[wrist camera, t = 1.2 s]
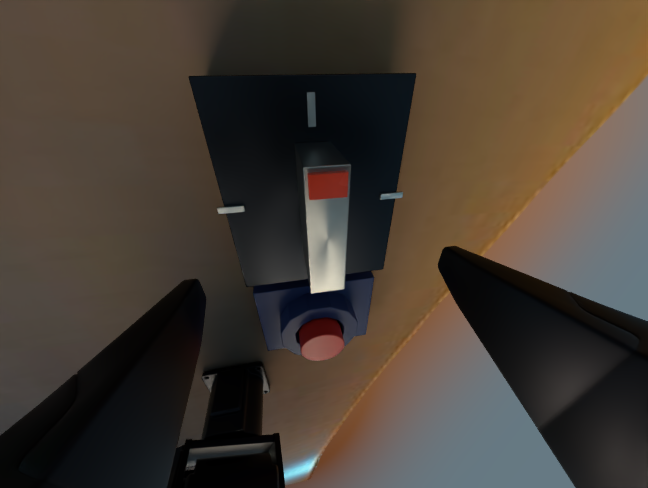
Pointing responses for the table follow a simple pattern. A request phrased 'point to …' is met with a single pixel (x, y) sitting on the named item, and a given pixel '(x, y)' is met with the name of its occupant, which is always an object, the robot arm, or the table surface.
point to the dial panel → (280, 160)
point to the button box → (312, 309)
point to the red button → (321, 339)
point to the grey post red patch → (323, 213)
